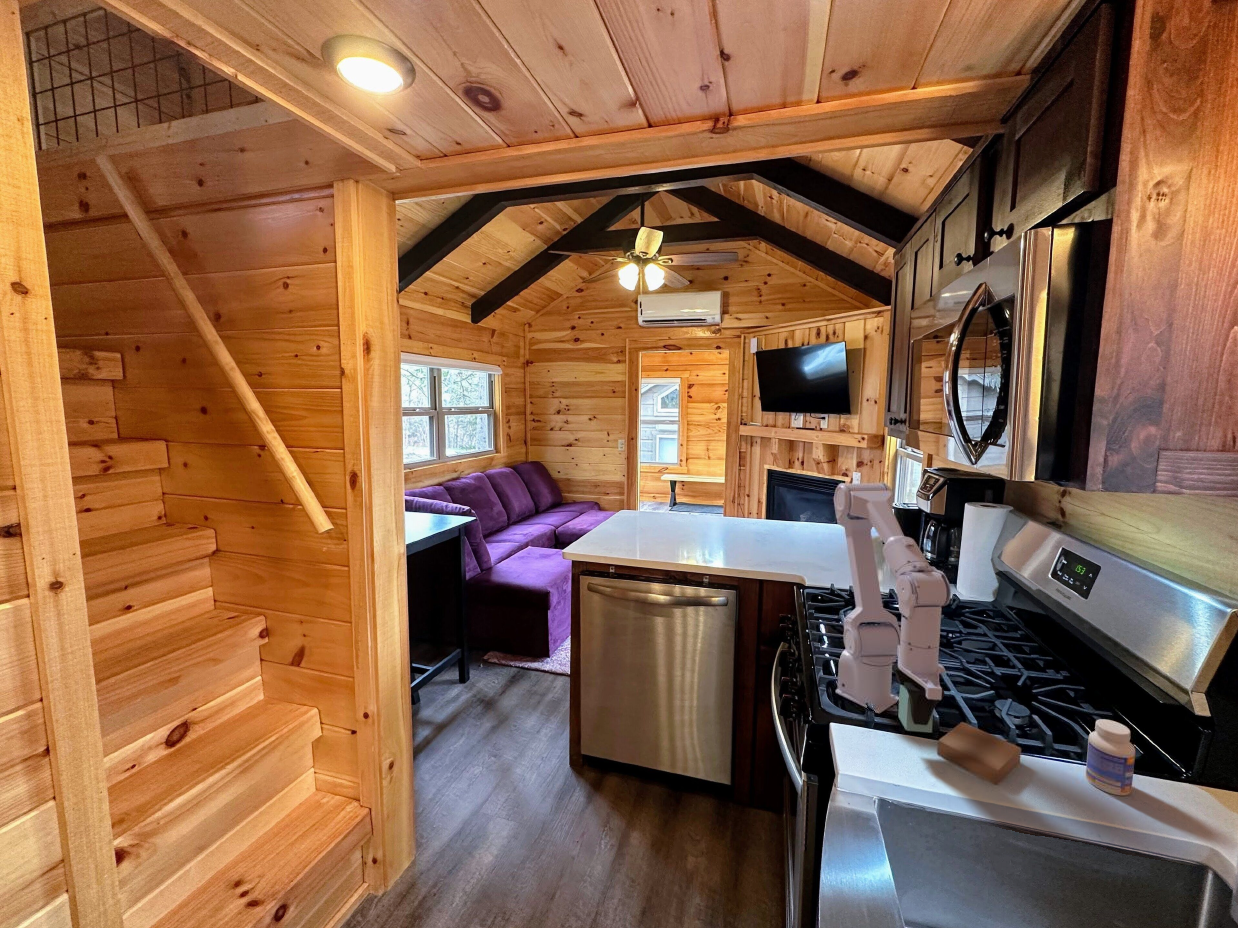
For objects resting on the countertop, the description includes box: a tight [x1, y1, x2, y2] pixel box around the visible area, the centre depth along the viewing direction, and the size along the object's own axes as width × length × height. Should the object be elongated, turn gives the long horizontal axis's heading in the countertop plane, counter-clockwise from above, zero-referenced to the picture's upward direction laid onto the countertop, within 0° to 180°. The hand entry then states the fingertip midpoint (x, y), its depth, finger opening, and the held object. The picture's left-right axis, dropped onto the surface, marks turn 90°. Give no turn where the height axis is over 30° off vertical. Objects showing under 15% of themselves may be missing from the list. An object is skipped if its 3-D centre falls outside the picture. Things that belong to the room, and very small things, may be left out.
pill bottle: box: [1085, 718, 1136, 796], centre depth 84 cm, size 5×5×10 cm
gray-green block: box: [898, 685, 934, 733], centre depth 92 cm, size 4×4×6 cm
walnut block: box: [936, 721, 1022, 786], centre depth 90 cm, size 9×9×3 cm
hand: (915, 715), depth 92 cm, fingers closed on gray-green block, 4 cm apart
